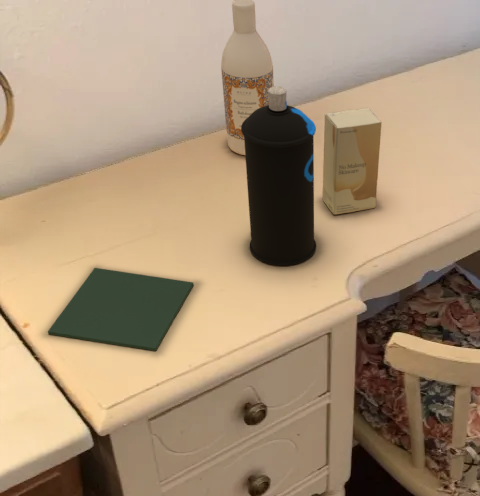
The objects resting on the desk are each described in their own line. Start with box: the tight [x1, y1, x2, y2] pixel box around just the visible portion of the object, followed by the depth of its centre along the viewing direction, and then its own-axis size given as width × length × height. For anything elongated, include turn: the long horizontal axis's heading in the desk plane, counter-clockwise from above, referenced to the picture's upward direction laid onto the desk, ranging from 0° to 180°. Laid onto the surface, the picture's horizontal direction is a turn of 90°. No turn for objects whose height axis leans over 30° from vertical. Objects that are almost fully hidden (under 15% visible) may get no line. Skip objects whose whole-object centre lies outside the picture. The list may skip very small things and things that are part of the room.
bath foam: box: [220, 0, 275, 156], centre depth 114 cm, size 7×7×20 cm
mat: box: [47, 267, 195, 352], centre depth 93 cm, size 12×12×1 cm
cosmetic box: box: [322, 107, 382, 215], centre depth 107 cm, size 6×4×12 cm
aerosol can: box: [241, 85, 317, 267], centre depth 96 cm, size 8×8×20 cm
